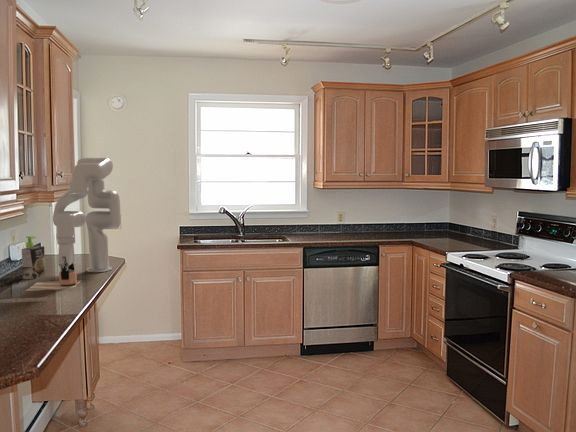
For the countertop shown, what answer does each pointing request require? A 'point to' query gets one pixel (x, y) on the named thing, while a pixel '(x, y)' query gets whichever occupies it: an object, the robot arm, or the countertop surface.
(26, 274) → the coffee box
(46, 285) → the post board
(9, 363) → the countertop surface
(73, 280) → the collar
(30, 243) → the soap dispenser
